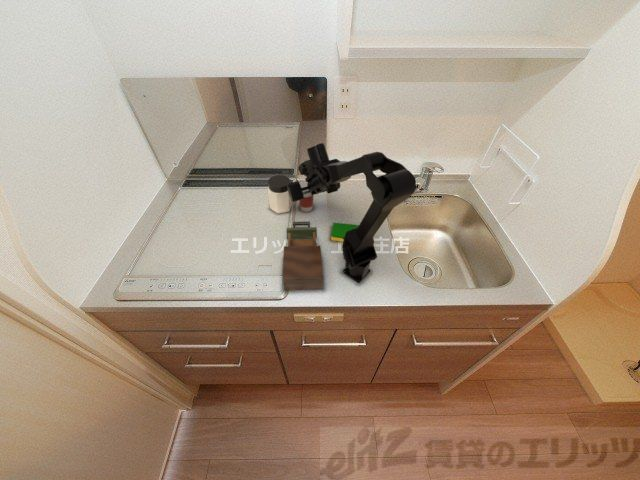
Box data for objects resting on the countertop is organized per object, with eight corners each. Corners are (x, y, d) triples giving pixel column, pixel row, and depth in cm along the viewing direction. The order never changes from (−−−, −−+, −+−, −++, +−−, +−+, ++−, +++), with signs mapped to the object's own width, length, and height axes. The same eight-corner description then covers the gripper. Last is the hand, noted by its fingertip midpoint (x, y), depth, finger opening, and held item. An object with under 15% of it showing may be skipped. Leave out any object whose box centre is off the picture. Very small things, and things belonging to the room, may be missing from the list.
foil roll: (315, 207, 107) (316, 186, 100) (306, 213, 104) (306, 192, 97) (306, 201, 109) (306, 180, 102) (296, 207, 106) (296, 186, 99)
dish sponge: (370, 245, 94) (371, 240, 92) (331, 240, 94) (331, 235, 93) (370, 231, 98) (371, 226, 97) (332, 227, 99) (333, 222, 98)
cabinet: (284, 258, 88) (283, 246, 83) (319, 257, 89) (320, 245, 84) (283, 290, 79) (282, 278, 75) (322, 289, 80) (323, 277, 76)
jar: (288, 215, 103) (286, 189, 94) (267, 212, 104) (264, 186, 95) (294, 201, 109) (293, 175, 100) (274, 198, 110) (272, 172, 101)
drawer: (287, 228, 97) (286, 219, 94) (315, 227, 97) (315, 218, 94) (286, 261, 86) (285, 252, 83) (318, 260, 86) (318, 252, 83)
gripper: (339, 151, 89) (321, 164, 103) (287, 163, 82) (276, 176, 97) (349, 183, 90) (330, 192, 104) (298, 198, 83) (286, 205, 98)
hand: (306, 191), depth 101 cm, fingers open, 9 cm apart
